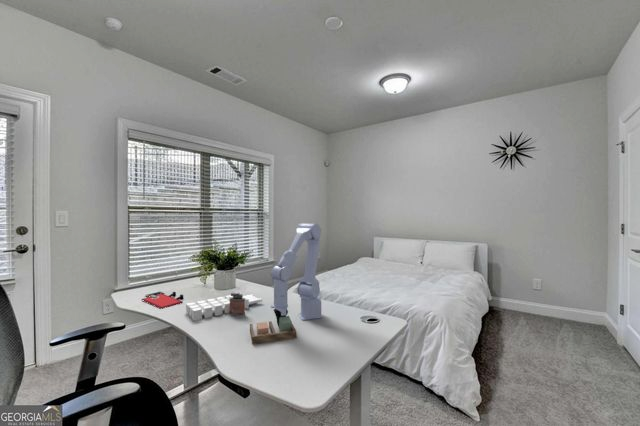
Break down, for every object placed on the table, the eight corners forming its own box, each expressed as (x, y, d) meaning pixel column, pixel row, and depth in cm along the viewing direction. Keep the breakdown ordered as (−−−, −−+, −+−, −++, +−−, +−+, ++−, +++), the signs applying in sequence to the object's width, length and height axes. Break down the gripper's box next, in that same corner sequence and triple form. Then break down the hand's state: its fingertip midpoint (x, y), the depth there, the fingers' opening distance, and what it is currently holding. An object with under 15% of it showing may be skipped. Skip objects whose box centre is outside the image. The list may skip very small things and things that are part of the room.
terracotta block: (266, 332, 115) (266, 322, 115) (268, 339, 109) (268, 327, 109) (256, 334, 114) (256, 323, 114) (258, 340, 108) (258, 329, 108)
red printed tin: (246, 313, 136) (246, 293, 136) (242, 315, 133) (242, 295, 133) (231, 311, 139) (231, 291, 138) (227, 314, 135) (227, 293, 135)
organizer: (186, 303, 137) (252, 290, 160) (186, 313, 137) (252, 299, 160) (193, 311, 127) (263, 296, 150) (193, 321, 127) (263, 305, 150)
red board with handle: (163, 292, 173) (135, 298, 161) (163, 287, 173) (135, 294, 160) (189, 302, 155) (160, 310, 143) (189, 297, 155) (160, 304, 143)
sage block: (287, 325, 119) (288, 315, 117) (290, 332, 115) (291, 321, 114) (278, 327, 117) (279, 317, 116) (281, 333, 114) (282, 323, 112)
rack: (289, 324, 123) (289, 318, 123) (296, 338, 110) (296, 330, 110) (249, 330, 117) (249, 323, 117) (252, 344, 105) (252, 336, 105)
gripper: (268, 290, 124) (268, 321, 124) (273, 300, 110) (273, 335, 110) (284, 289, 126) (284, 319, 126) (291, 299, 112) (291, 332, 112)
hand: (280, 326), depth 118 cm, fingers closed
